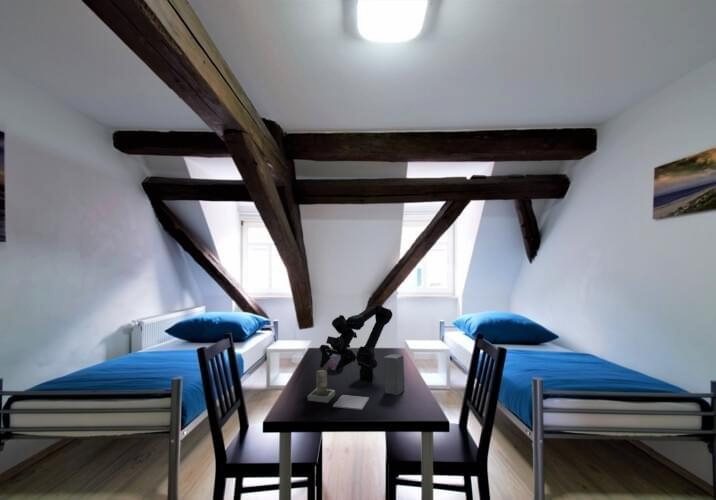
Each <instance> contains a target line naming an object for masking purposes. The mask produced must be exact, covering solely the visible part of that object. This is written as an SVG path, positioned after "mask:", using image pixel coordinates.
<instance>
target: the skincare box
mask: <svg viewBox="0 0 716 500" xmlns="http://www.w3.org/2000/svg"><path fill="white" fill-rule="evenodd" d="M404 364H405V363H404V354H393V353H391V354H389V355H386V356H383V373H384V374H383V375H384V377H383V379H384V394H390V395H395V396H398V395H400V394H401V393H403V392H404V391H405V390H406V387H405V369H404Z"/></svg>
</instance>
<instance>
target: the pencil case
mask: <svg viewBox="0 0 716 500" xmlns="http://www.w3.org/2000/svg"><path fill="white" fill-rule="evenodd" d="M330 357H331V358H330V359H329V361H328V365H329V368H330V369H331V370H333V371H335V369H336V366H337V364H338V363H339V361H340V358H341V356H340V355H335V354H332V356H330ZM342 369H343V368H341V369H340V370H339V371H341V370H342Z"/></svg>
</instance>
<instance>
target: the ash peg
mask: <svg viewBox="0 0 716 500" xmlns="http://www.w3.org/2000/svg"><path fill="white" fill-rule="evenodd" d="M315 389H316V396H327V389H328V371H327V370H326V369H319V370H317V371H316V388H315Z"/></svg>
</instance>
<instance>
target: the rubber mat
mask: <svg viewBox="0 0 716 500" xmlns="http://www.w3.org/2000/svg"><path fill="white" fill-rule="evenodd" d="M369 400H370V397H368V396H358V395H349V394H342V395H341V396H340V397H339V398H338V399H337V401H335V403H333V405H332V407H333V408H338V409H339V408H341V409H349V410H357V411H359V410H360V411H363V409H364V407H365V406H366V404H367V403H368V401H369Z"/></svg>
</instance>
